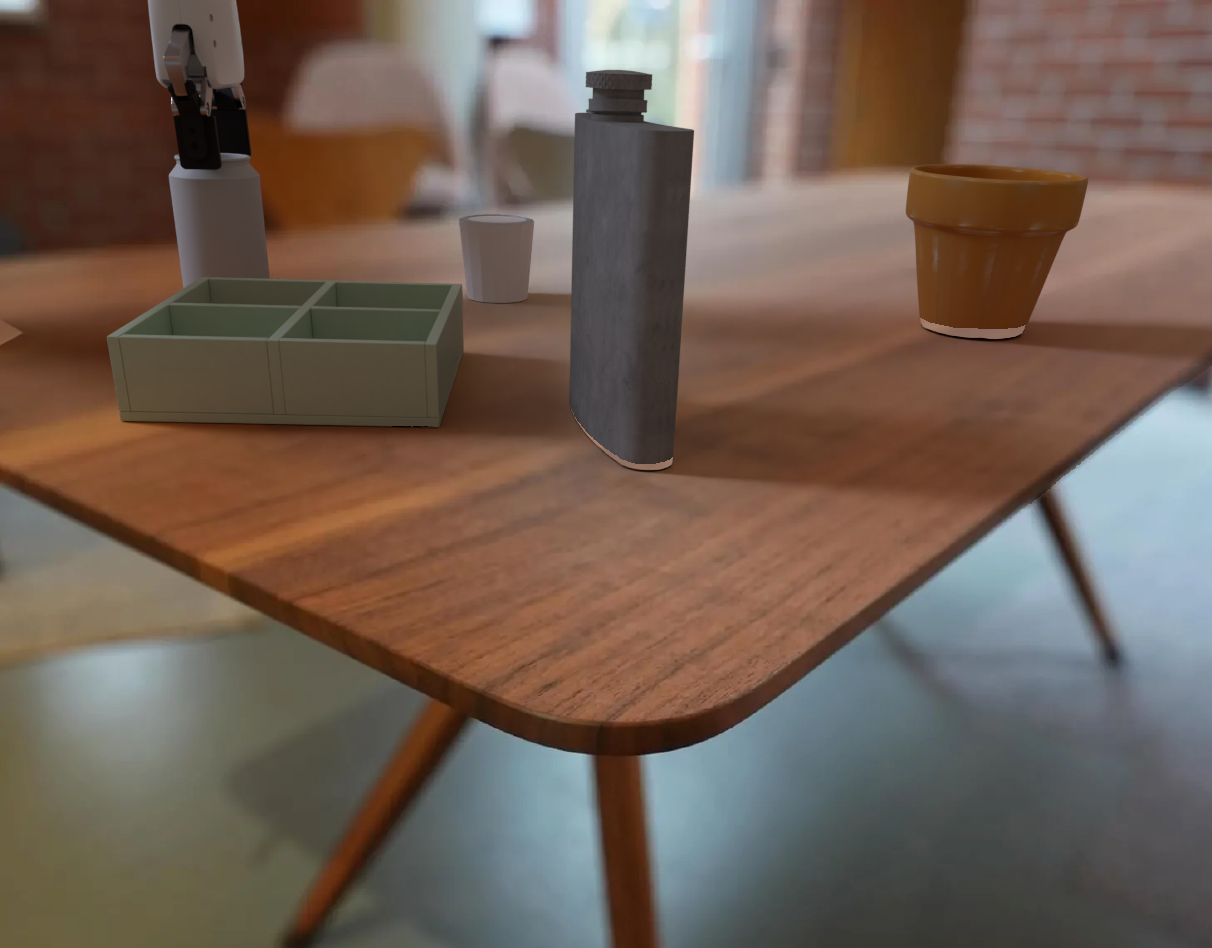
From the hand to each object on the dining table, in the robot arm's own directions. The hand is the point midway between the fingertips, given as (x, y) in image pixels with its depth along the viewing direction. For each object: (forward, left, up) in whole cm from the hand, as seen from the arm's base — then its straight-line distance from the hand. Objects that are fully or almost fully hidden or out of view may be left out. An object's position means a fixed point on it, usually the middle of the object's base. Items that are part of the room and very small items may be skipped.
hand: (218, 163), depth 96 cm
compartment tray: (+13, -28, -11) cm, 33 cm away
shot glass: (+24, +3, -11) cm, 26 cm away
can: (0, 0, -11) cm, 11 cm away
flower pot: (+66, -6, -11) cm, 67 cm away
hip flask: (+33, -37, -11) cm, 51 cm away
